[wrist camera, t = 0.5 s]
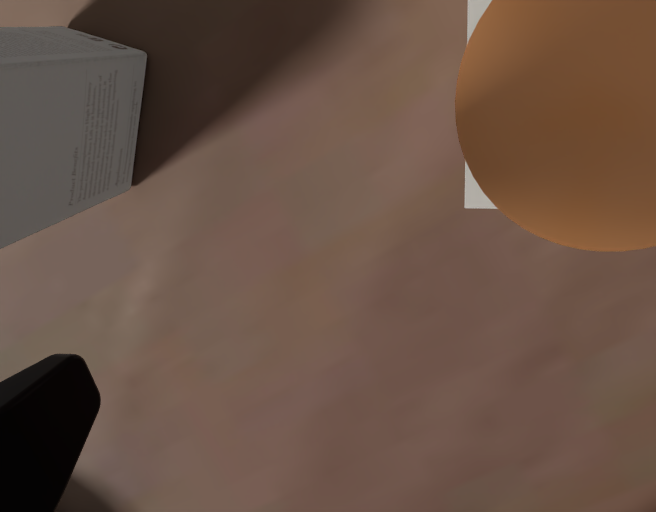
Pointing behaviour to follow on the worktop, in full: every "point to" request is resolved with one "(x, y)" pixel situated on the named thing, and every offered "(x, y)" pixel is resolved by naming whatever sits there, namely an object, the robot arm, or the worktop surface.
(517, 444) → the worktop surface
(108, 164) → the skincare box
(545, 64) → the orange button
